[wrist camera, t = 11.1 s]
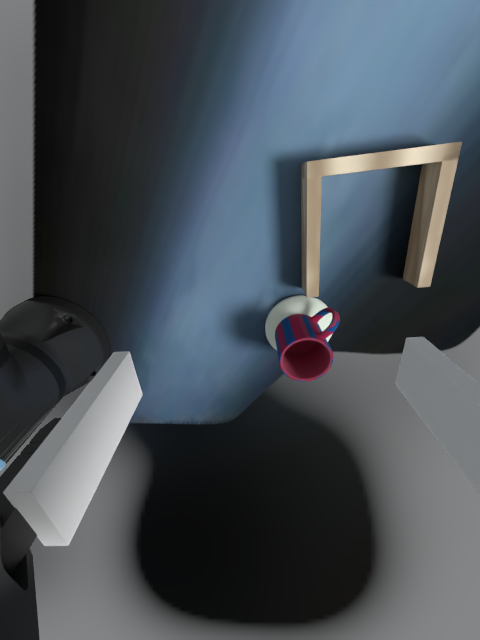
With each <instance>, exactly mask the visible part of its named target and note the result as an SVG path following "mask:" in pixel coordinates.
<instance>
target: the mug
mask: <svg viewBox="0 0 480 640" xmlns="http://www.w3.org/2000/svg"><path fill="white" fill-rule="evenodd" d="M328 313H332V321H331V323H330V324H329V326H328V327H327V328H326V329H325V330H324V331H322V330H321V328H320V326H319V324H318V323H317V322H318V321H319V320H320V319H321V318H322V317H323V316H325V315H327V314H328ZM339 320H340V317H339V314H338V313H337V312H336V311H335V310H334V309H332V308H329V307H327V308H324V309H322V310H320V311H319V312H318V313H316V314H315V315H314V316H313V317H310V316H308V315H305V314H294V315H290V316H288V317H286V318H284V319H283V320H282V321H281V322H280V323H279V324H278V326H277V328H276V330H275V340H276V346H277V352H278V358H279V363H280V367H281V370H282V371H283V373H284V374H285V375H286V376H288V377H289V378H291V379H293V380H297V381H311V380H315V379H317V378H319V377H321V376H323V375H324V374H325V373H326V372H327V371H328V370H329V369H330V367H331V365H332V362H333V353H332V350H331V348H330V346H329V344H328V342H327V340H326V338H327V337H328V336H330V335H331V334H332V333H333V332H334V331H335V330H336V328H337V327H338V324H339Z"/></svg>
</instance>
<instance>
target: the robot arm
mask: <svg viewBox="0 0 480 640" xmlns="http://www.w3.org/2000/svg"><path fill="white" fill-rule="evenodd" d="M109 356H110V345H109V341H108V338H107V335H106V333H105V331H104V329H103V328H102V326H101V325H100V324H99V322H98V321H97V320H96V319H95V318H94V317H93V316H92V315H91V314H90V313H89V312H87V311H86V310H85V309H83V308H82V307H80V306H78V305H76V304H74V303H72V302H70V301H68V300H65V299H61V298H57V297H51V296H40V297H34V298H31V299H28V300H26V301H24V302H22V303H20V304H18V305H16V306H15V307H13V308H12V309H10V310H9V311H8V312H7V313H6V314H5V315H4V317H3V318H2V319H1V320H0V470H2V469H3V468H4V466H5V465H6V464H7V462H8V461H9V460H10V459H11V458H12V457H13V455H14V454H15V453H16V452H17V451H18V449H19V448H20V447H21V446H22V445H23V444H24V442H25V441H26V440H27V439H28V438H29V436H30V435H31V434H32V433H33V432H34V431H35V429H36V428H37V427H38V426H39V425H40V424H41V422H42V421H43V420H44V419H45V418H46V416H47V415H48V414H49V413H50V412H51V411H52V409H53V408H54V407H55V406H56V405H57V404H58V402H59V401H60V400H61V399H62V398H63V397H64V396H66V395H68V394H70V393H71V392H73V391H75V390H77V389H78V388H80V387H82V386H84V385H85V384H87V383H89V382H90V381H91V382H90V383H89V384H88V386H87V387H86V388H85V389H84V391H83V392H82V393H81V394H80V396H79V397H78V398H77V400H76V401H75V402H74V403H73V405H72V406H71V407H70V408H69V410H68V411H67V412H66V413H65V415H64V416H63V417H62V418H54V419H53V420H52V421H51V422H49V423H48V424H47V425H45V426H44V427H43V428H42V429H40V430H39V432H38V433H37V434H36V435H35V436H34V437H33V439H32V440H31V441H30V444H29V445H27V446H26V447H25V448H24V449H23V451H22V452H21V454H20V455H18V456H17V458H16V459H15V460H14V461H13V462H12V464H11V465H10V466H9V467H8V468H7V469H6V471H5V472H4V473H3V474H2V475H1V477H0V640H39V628H38V616H37V604H36V591H35V579H34V567H33V555H32V553H31V550H30V549H29V548H30V547H31V545H32V543H33V541H34V540H35V538H36V536H37V537H38V538H39V539H40V541H41V542H42V543H43V544H44V546H68V545H69V543H70V541H71V539H72V537H73V535H74V533H75V531H76V529H77V527H78V525H79V523H80V521H81V519H82V517H83V515H84V513H85V511H86V509H87V507H88V505H89V503H90V501H91V499H92V497H93V495H94V493H95V491H96V488H97V487H98V484H99V482H100V480H101V478H102V476H103V474H104V472H105V470H106V468H107V466H108V464H109V462H110V460H111V458H112V456H113V454H114V452H115V450H116V448H117V446H118V444H119V442H120V440H121V438H122V436H123V434H124V432H125V430H126V428H127V425H128V423H129V421H130V419H131V417H132V415H133V413H134V411H135V409H136V407H137V405H138V403H139V401H140V399H141V397H142V391H141V388H140V385H139V381H138V378H137V375H136V371H135V368H134V365H133V362H132V358H131V355H130V352H129V351H127V352H114V353H113V354H112V355H111V357H110V358H109ZM395 385H396V386H397V388H398V389H399V390H400V392H401V393H402V394H403V396H404V397H405V398H406V400H407V401H408V402H409V403H410V405H411V406H412V407H413V409H414V410H415V411H416V413H417V414H418V415H419V417H420V418H421V419H422V421H423V422H424V423H425V425H426V426H427V427H428V429H429V430H430V431H431V432H432V434H433V435H434V436H435V437H436V439H437V440H438V442H439V443H440V444H441V446H442V447H443V448H444V450H445V451H446V452H447V453H448V455H449V456H450V457H451V459H452V460H453V461H454V463H455V464H456V465H457V467H458V468H459V469H460V470H461V472H462V473H463V474H464V476H465V477H466V478H467V480H468V481H469V482H470V484H471V485H472V486H473V488H474V489H475V490H476V492H477V493H478V494H479V496H480V384H479V383H478V382H476V381H475V380H474V379H473V378H472V377H471V376H469V375H468V374H467V373H466V372H464V371H463V370H462V369H461V368H460V367H459V366H457V365H456V364H455V363H454V362H453V361H451V360H450V359H449V358H448V357H447V356H446V355H444V354H443V353H442V352H441V351H440V350H438V349H437V348H436V347H435V346H434V345H432V344H431V343H430V342H429V341H428V340H426V339H425V338H424V337H412V338H406V342H405V346H404V350H403V354H402V358H401V362H400V366H399V370H398V374H397V378H396V382H395Z"/></svg>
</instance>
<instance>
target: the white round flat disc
mask: <svg viewBox="0 0 480 640" xmlns="http://www.w3.org/2000/svg"><path fill="white" fill-rule="evenodd" d="M324 308H327V305H326V304H325V303H323V302H322V301H321V300H319V299H317V298H315V297H306V295H296V296H291V297H288V298H286V299H284V300H282V301H280V302H279V303H277V304H276V305H275V306H274V307H273V308H272V309H271V311H270V312H269V314H268V316H267V319H266V323H265V332H266V337H267V339H268V341H269V343H270V344H271V346H272V347H273V348H274V349H276V350H277V346H276V340H275V330H276V328H277V326H278V324H279V323H280V322H281V321H282V320H283V319H284V318H286V317H288V316H290V315H294V314H305V315H308V316H310V317H313V316H314V315H315V314H316V313H318V312H319V311H320V310H322V309H324ZM331 321H332V313H328V314H327V315H325V316H323V317H322V318H321V319H320V320H319V321H318V322H317V323H318V324H319V326H320V328H321V330H322V331H324V330H325V329H326V328H327V327H328V326H329V324H330V323H331ZM331 335H332V334H331ZM331 335H330V336H328V337H327V338H326V340H327V342H328V341H329V339H330V337H331Z"/></svg>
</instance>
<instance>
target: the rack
mask: <svg viewBox="0 0 480 640" xmlns="http://www.w3.org/2000/svg"><path fill="white" fill-rule="evenodd" d="M461 144H462V142H455V143H447V144H439V145H432V146H424V147H416V148H408V149H400V150H393V151H385V152H377V153H369V154H362V155H354V156H346V157H338V158H330V159H323V160H315V161H307V162H305V163H302V164H301V242H302V289H303V291H304V293H305V295H306V297H318V296H319V263H320V220H321V178H322V176H329V175H337V174H345V173H353V172H361V171H369V170H377V169H385V168H393V167H402V166H410V165H418V164H422V168H421V174H420V180H419V186H418V191H417V197H416V203H415V209H414V215H413V221H412V227H411V233H410V239H409V245H408V250H407V256H406V262H405V268H404V274H403V279H404V280H406V281H407V282H409V283H411V284H412V285H414V286H416V287H417V288H418V287H429V286H430V285H431V280H432V276H433V271H434V267H435V262H436V258H437V253H438V248H439V244H440V239H441V235H442V230H443V226H444V221H445V217H446V212H447V208H448V203H449V199H450V194H451V190H452V185H453V180H454V176H455V171H456V167H457V162H458V158H459V153H460V149H461Z"/></svg>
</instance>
